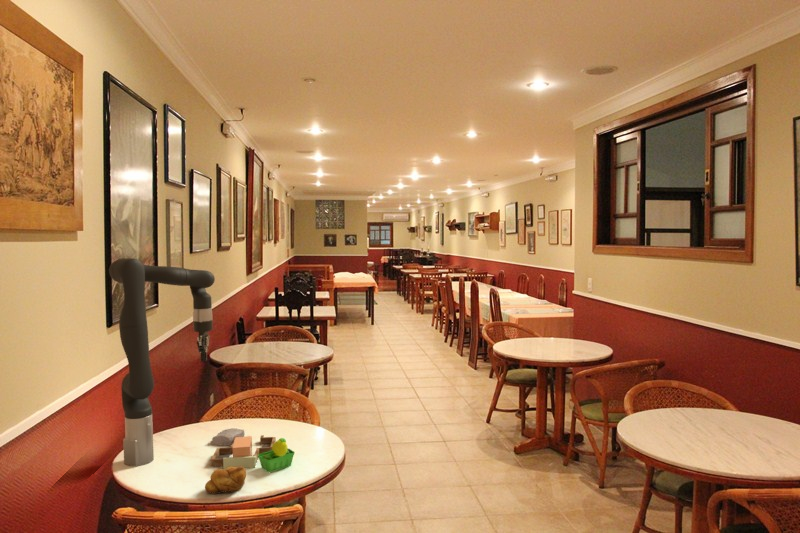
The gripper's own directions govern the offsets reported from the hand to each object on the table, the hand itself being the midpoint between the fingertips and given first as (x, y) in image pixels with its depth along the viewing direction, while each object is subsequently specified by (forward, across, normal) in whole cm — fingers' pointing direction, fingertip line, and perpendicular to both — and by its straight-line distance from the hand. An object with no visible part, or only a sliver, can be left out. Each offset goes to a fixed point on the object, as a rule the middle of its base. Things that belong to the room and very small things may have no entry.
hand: (204, 361), depth 233 cm
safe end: (+32, +33, +18) cm, 50 cm away
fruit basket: (+32, +35, +32) cm, 57 cm away
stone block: (+33, +3, +9) cm, 34 cm away
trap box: (+32, +20, +18) cm, 42 cm away
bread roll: (+32, +50, +17) cm, 62 cm away
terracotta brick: (+32, +27, +19) cm, 46 cm away
